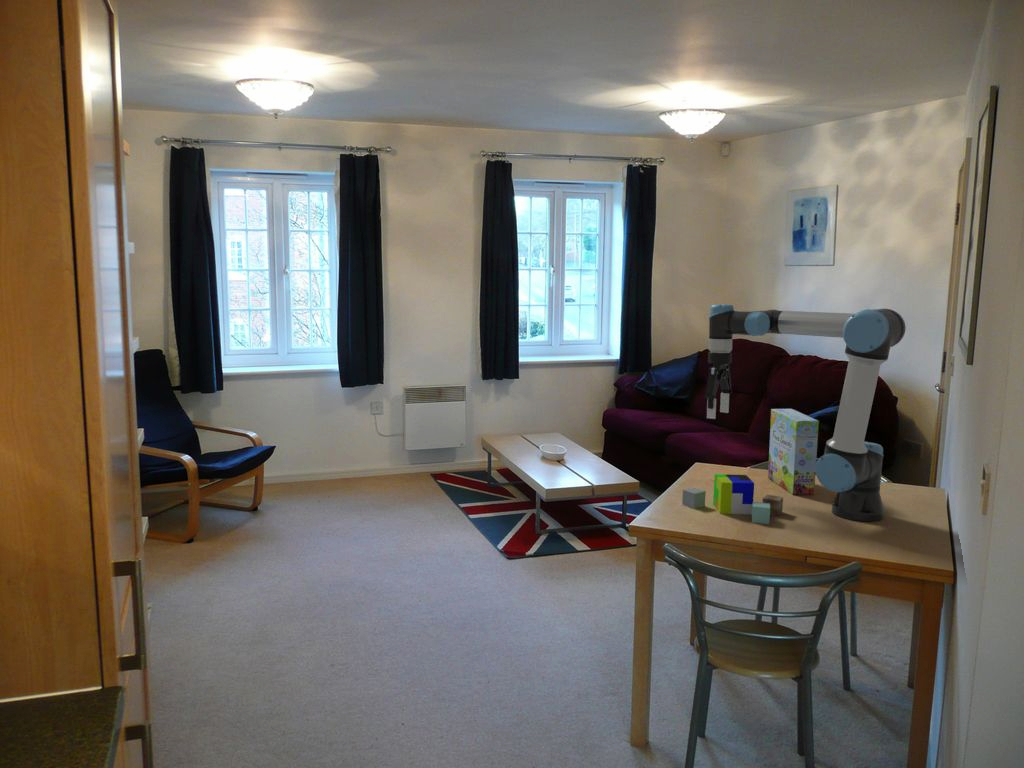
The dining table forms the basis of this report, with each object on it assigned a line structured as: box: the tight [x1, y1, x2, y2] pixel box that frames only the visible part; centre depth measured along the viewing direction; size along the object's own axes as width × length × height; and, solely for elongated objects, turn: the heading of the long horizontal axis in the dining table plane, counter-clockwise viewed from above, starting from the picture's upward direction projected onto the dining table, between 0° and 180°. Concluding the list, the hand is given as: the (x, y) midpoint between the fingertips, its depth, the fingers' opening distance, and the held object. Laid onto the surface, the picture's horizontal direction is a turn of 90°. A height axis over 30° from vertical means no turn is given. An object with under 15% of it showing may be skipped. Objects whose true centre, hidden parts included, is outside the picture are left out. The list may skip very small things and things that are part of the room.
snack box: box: [767, 408, 820, 496], centre depth 294 cm, size 22×9×26 cm, turn 6°
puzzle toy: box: [712, 473, 755, 515], centre depth 267 cm, size 10×10×10 cm
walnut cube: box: [762, 494, 784, 517], centre depth 264 cm, size 5×5×5 cm
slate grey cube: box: [681, 487, 707, 510], centre depth 271 cm, size 5×5×5 cm
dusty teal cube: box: [751, 501, 771, 525], centre depth 256 cm, size 5×5×5 cm
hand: (717, 415), depth 282 cm, fingers open, 13 cm apart
